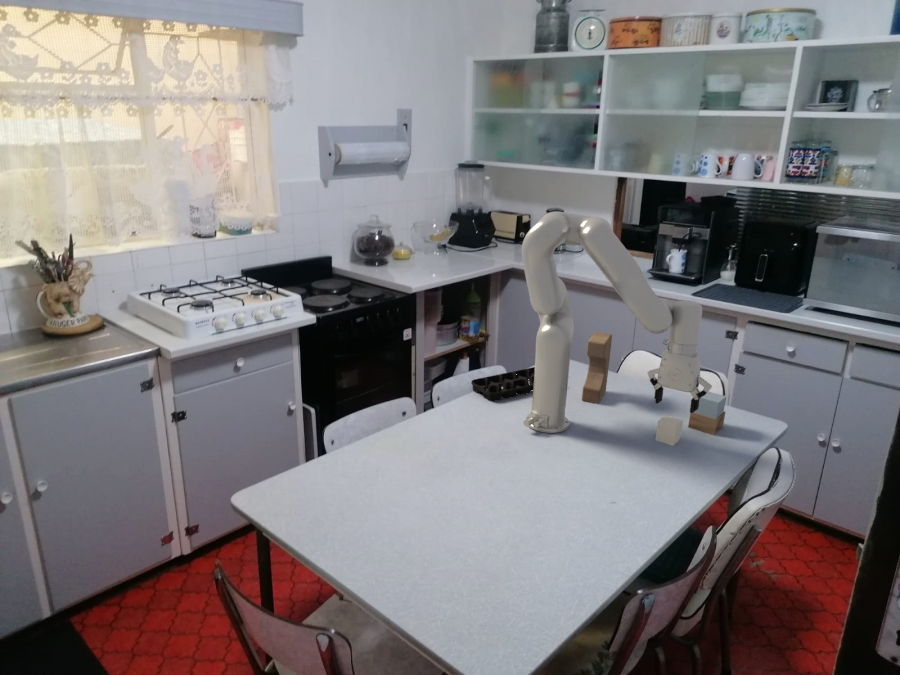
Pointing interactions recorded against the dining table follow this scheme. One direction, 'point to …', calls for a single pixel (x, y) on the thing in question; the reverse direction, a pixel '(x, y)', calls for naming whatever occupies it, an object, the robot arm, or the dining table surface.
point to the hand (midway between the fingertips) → (675, 406)
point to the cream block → (669, 430)
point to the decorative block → (597, 367)
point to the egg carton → (505, 384)
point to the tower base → (706, 423)
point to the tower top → (711, 405)
